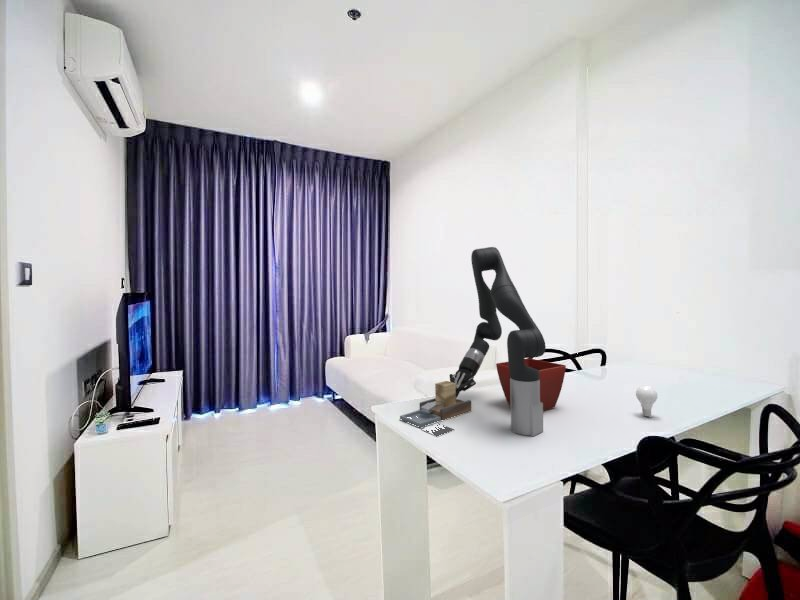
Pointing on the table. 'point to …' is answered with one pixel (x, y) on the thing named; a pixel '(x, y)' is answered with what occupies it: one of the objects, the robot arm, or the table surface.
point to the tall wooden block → (446, 393)
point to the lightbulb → (646, 399)
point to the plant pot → (548, 380)
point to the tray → (420, 418)
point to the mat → (441, 430)
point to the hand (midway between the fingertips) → (452, 397)
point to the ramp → (450, 408)
